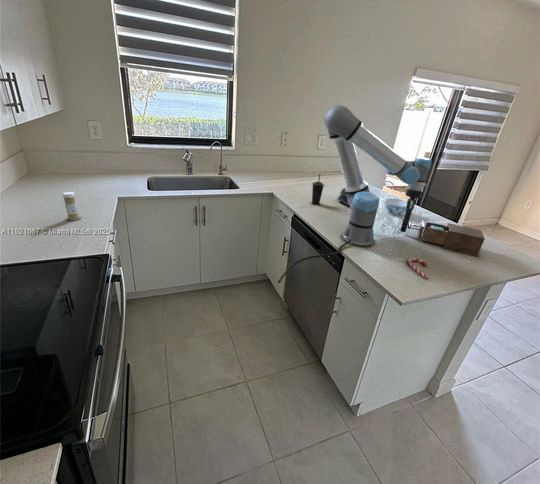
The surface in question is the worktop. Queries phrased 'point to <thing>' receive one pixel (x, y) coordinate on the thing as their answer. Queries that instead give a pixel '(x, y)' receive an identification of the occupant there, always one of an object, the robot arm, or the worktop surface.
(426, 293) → the worktop surface
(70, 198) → the sprinkles bottle
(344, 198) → the casserole
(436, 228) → the teal block
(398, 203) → the chinaware
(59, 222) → the worktop surface
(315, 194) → the drinking cup
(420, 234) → the drawer
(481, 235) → the cabinet
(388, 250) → the worktop surface
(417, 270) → the candy cane
